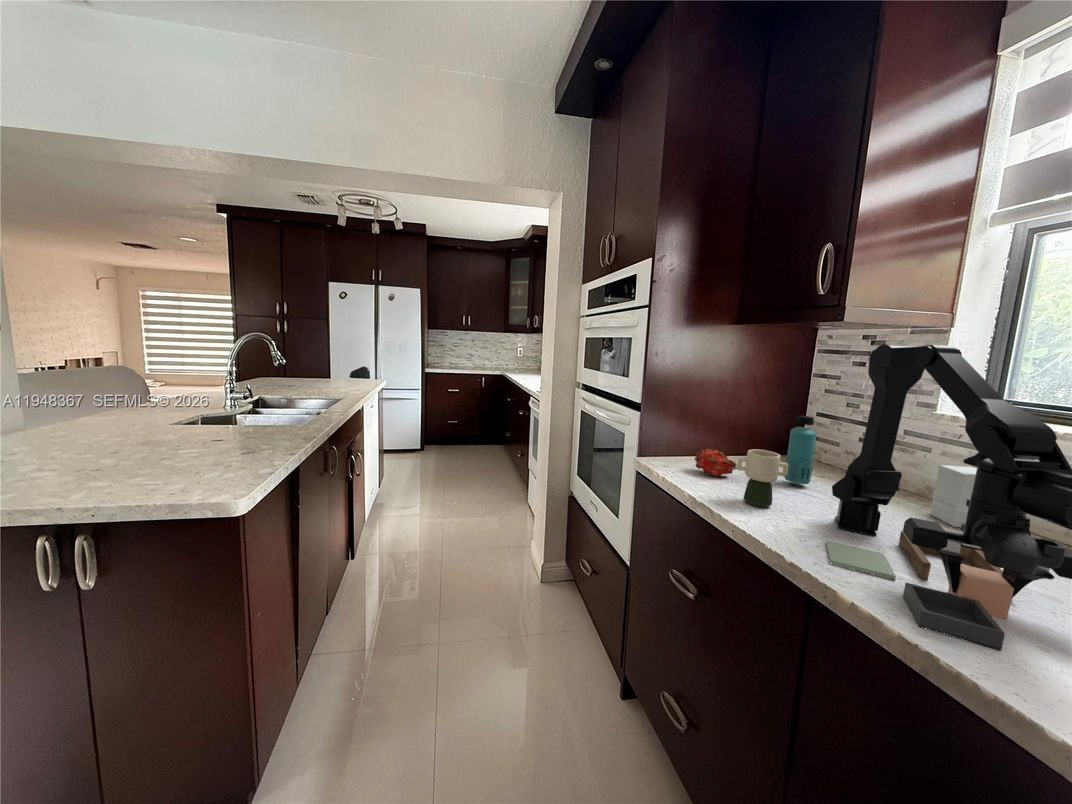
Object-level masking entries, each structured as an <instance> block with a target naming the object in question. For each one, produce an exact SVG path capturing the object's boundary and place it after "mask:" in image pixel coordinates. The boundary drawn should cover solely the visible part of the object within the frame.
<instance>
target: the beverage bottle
mask: <svg viewBox="0 0 1072 804" xmlns="http://www.w3.org/2000/svg"><path fill="white" fill-rule="evenodd" d="M814 422H815V419H814V417H813V416H808V415H798V416H797V417H796V420H795V423H796V424H798V425H804V426H805V427H802V426H796V427H794V428H791V430H790V431H789V432H790V433H789V434H790V435H789V441H788V447H787V448H788V449H787V453H786V458H785V459H786V460H785V461H786V462H785V463H787V464H788V472H787V475H786V476H783V478H784V479H785V480H786V481H787V482H791V483H794V484H799V485H808V484H810V482H811V479H812V474H813V473H812V472H813V463H814V456H815V451H816V443H817V441H816V439H817V435H818V434H817V432H816V431H815V430H814V429H813V428H809V427H806V426H814V424H815V423H814Z"/></svg>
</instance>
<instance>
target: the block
mask: <svg viewBox="0 0 1072 804" xmlns="http://www.w3.org/2000/svg"><path fill="white" fill-rule="evenodd" d="M947 591H948V593H950V594H954V595H958V596H962V597H966V598H970V599H973V600H977V601H979V602H980V603H981V605H982V606H983V607H984V608H985V610H986V611H987V612H988V613H989V615H990V616H991V617H994V618H998V619H1002V620H1007V619H1008V616H1009V611H1010V607H1011V603H1012V601H1013V598H1012V596H1013V591H1014V588H1013V587H1012V586H1011V585H1010V584H1009V583H1008V582H1007V581H1006V580H1005V579H1004V578H1003V577H1002V576H1001V575H1000V574H999V573H998V572H993V571H989V570H984V569H980V568H976V567H973V566H972V565H966V564H962V563H961V567H960V577H959V586H958V589H957V592H956V593H953V592H952V591H951V589H950V586H949V585H948V590H947ZM1011 600H1012V601H1011Z"/></svg>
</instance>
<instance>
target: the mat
mask: <svg viewBox="0 0 1072 804" xmlns="http://www.w3.org/2000/svg"><path fill="white" fill-rule="evenodd" d="M824 546H825V550H826V553H827V552H828V553H827V557H828V556H829V557H828V560H830V561H829V564H830V563H832V564H835V565H834V566H836V565H838V566H837V567H840V566H843V567H847V568H851V569H855V570H858V571H857V572H859V571H863V572H866V573H865V574H867V573H870V574H869V575H871V574H874V575H873V576H875V575H877V576H876V577H879V576H882V577H881V578H883V577H885V578H884V579H887V578H889V579H888V580H891V579H894V580H893V581H896V579H897V578H896V577H897V576H896V574H895V572H894V570H893V568H892V566H891V565H890V562H889V561H888V559H887V557H886V556H885V553H884V552H883V553H882V552H878V551H875V550H870V549H867V548H861V547H857V546H853V545H848V544H844V543H839V542H834V541H831V540H827V539H825V543H824ZM832 564H831V565H832ZM843 567H842V568H843ZM847 568H846V569H847ZM851 569H850V570H851ZM855 570H854V571H855ZM863 572H862V573H863Z"/></svg>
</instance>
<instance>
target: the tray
mask: <svg viewBox="0 0 1072 804" xmlns="http://www.w3.org/2000/svg"><path fill="white" fill-rule="evenodd" d="M903 597H904V598H903ZM902 598H903V600H904V602H905V603H906V606H907V605H908V606H907V608H908V607H909V608H908V610H909V609H910V610H909V612H910V611H911V612H910V614H911V613H912V614H911V615H913V616H912V617H914V618H913V619H914V621H915V623H916V625H917V624H918V625H917V627H918V626H919V627H918V628H920V627H923V628H922V629H924V628H927V629H930V630H929V631H931V630H933V631H932V632H934V631H937V632H941V633H945V634H948V635H951V636H954V637H953V638H955V637H957V638H956V639H958V638H961V639H960V640H962V639H964V640H963V641H965V640H967V641H966V642H968V641H970V642H969V643H973V644H976V645H979V646H983V647H986V648H990V649H992V650H993V649H994V650H997V651H1000V652H1001V651H1002V648H1003V644H1004V640H1005V636H1006V633H1005V632H1004V630H1003V629H1002V628H1001V627H1000V626H999V624H998V623H997V622H996V620H995V619H994V618H993V616H990V615H989V613H988V612H987V611H986V610H985V608H984V607H983V606H982V605H981V603H980V602H979V601H977V600H973V599H970V598H966V597H962V596H958V595H954V594H950V593H949V592H946V591H945V592H944V591H941V590H937V589H934V588H931V587H930V588H929V587H925V586H922V585H917V584H915V583H914V584H913V583H909V582H905V584H904V589H903V594H902ZM927 629H926V630H927ZM937 632H936V633H937ZM941 633H940V634H941ZM948 635H947V636H948ZM951 636H950V637H951Z"/></svg>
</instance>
